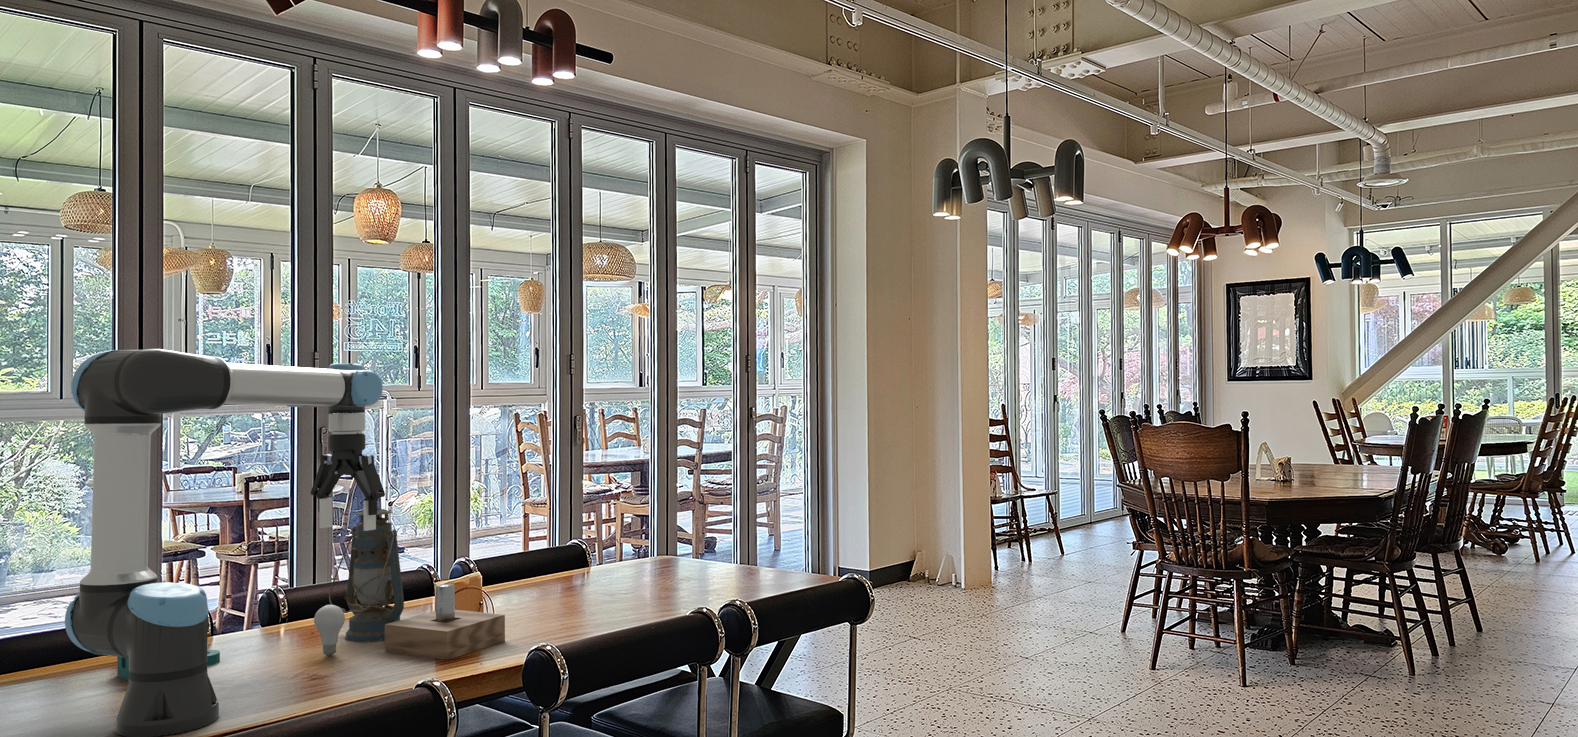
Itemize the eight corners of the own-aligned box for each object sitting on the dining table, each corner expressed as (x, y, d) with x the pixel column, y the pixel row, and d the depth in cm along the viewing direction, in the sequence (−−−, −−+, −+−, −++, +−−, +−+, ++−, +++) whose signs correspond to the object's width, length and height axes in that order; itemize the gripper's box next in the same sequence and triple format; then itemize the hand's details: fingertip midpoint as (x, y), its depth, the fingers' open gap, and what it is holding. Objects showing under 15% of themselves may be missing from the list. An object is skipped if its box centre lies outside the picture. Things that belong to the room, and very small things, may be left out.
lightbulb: (333, 660, 221) (333, 608, 221) (307, 659, 222) (307, 607, 222) (350, 653, 227) (350, 602, 227) (326, 652, 228) (325, 601, 228)
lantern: (425, 634, 245) (424, 506, 245) (373, 647, 232) (372, 512, 233) (370, 625, 254) (370, 503, 255) (318, 638, 242) (317, 508, 243)
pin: (445, 642, 229) (445, 587, 230) (432, 640, 231) (431, 586, 231) (458, 638, 233) (458, 584, 233) (445, 636, 235) (444, 583, 235)
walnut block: (447, 659, 220) (446, 631, 220) (384, 651, 228) (384, 624, 228) (504, 641, 236) (504, 614, 236) (444, 634, 244) (444, 608, 244)
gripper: (401, 432, 229) (402, 529, 228) (321, 432, 240) (321, 524, 239) (374, 433, 222) (375, 533, 222) (293, 433, 233) (293, 528, 232)
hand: (347, 528), depth 230 cm, fingers open, 13 cm apart
